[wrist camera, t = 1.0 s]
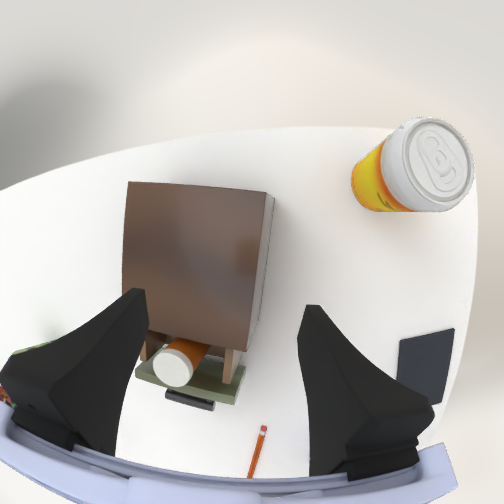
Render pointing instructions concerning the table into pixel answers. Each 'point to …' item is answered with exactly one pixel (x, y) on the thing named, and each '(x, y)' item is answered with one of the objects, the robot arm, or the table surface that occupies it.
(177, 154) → the table surface
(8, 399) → the egg
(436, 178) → the beer can
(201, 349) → the bottle
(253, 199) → the cabinet
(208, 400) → the drawer
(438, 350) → the mat
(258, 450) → the pencil
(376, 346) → the table surface
